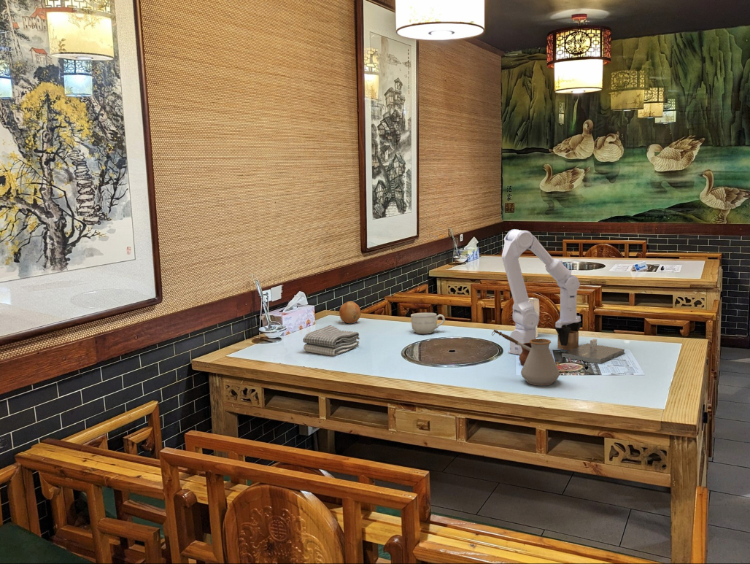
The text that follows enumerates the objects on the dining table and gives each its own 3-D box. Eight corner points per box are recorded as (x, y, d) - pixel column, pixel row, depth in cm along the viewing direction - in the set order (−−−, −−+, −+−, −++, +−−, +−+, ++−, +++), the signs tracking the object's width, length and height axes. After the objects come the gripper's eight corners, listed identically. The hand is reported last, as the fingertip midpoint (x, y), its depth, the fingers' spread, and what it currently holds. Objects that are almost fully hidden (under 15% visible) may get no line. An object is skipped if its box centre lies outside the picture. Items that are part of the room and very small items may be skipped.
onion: (352, 320, 310) (351, 298, 309) (365, 323, 303) (364, 301, 302) (335, 323, 304) (334, 301, 303) (348, 326, 297) (347, 304, 295)
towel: (302, 353, 252) (301, 333, 250) (330, 343, 267) (329, 323, 266) (335, 357, 244) (334, 336, 243) (362, 346, 259) (361, 326, 258)
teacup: (408, 335, 276) (407, 315, 275) (414, 329, 286) (414, 311, 285) (441, 336, 272) (441, 316, 271) (446, 330, 282) (446, 311, 281)
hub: (599, 363, 223) (600, 347, 222) (561, 357, 233) (562, 341, 232) (624, 353, 235) (624, 337, 235) (587, 347, 245) (587, 332, 245)
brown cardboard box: (578, 347, 245) (578, 331, 245) (571, 350, 242) (571, 333, 241) (565, 345, 249) (565, 329, 248) (557, 348, 245) (557, 331, 245)
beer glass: (541, 338, 262) (541, 300, 260) (523, 338, 262) (523, 300, 260) (537, 334, 269) (537, 297, 267) (519, 334, 269) (519, 297, 267)
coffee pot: (564, 379, 207) (565, 332, 205) (552, 389, 197) (552, 339, 195) (499, 371, 218) (499, 325, 216) (485, 380, 209) (484, 332, 207)
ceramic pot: (559, 358, 232) (559, 338, 231) (560, 373, 215) (560, 352, 214) (506, 358, 236) (506, 338, 235) (503, 372, 219) (502, 351, 218)
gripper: (568, 311, 235) (567, 349, 237) (588, 305, 246) (587, 341, 247) (550, 309, 240) (550, 346, 242) (570, 303, 251) (570, 339, 252)
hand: (568, 343), depth 245 cm, fingers closed on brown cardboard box, 5 cm apart
